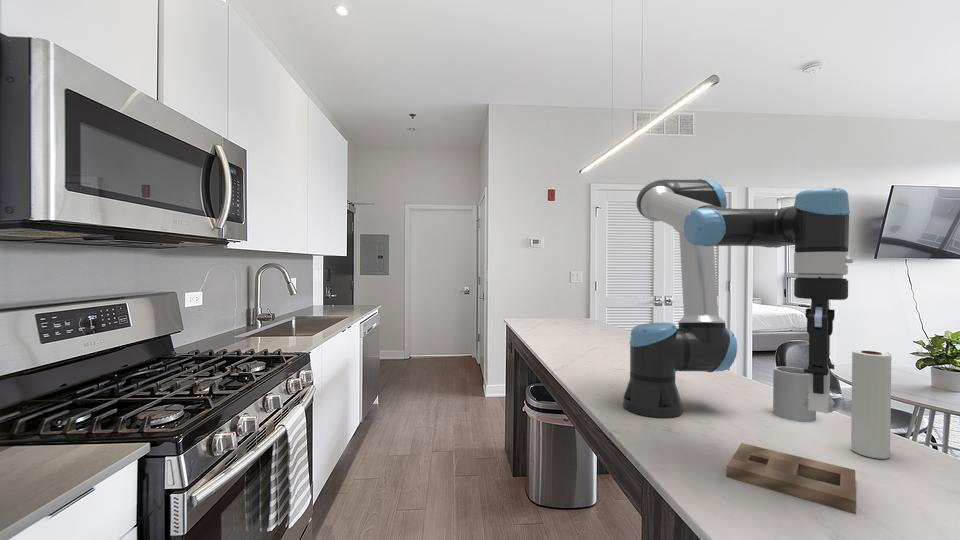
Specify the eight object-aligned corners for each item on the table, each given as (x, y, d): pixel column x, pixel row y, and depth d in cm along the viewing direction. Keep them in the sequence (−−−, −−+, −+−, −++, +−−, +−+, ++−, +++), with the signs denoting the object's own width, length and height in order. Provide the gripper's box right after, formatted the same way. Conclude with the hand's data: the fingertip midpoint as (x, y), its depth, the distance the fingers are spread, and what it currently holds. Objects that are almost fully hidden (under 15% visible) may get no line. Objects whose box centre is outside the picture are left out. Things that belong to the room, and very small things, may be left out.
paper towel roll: (859, 457, 88) (860, 353, 88) (845, 445, 94) (846, 348, 94) (903, 462, 86) (905, 356, 86) (887, 450, 91) (888, 351, 91)
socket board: (726, 476, 79) (726, 465, 79) (741, 452, 90) (741, 442, 90) (855, 513, 68) (856, 500, 68) (855, 480, 78) (855, 469, 78)
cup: (818, 424, 107) (818, 376, 107) (774, 417, 112) (774, 371, 112) (813, 414, 115) (813, 369, 115) (772, 408, 119) (772, 365, 119)
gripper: (848, 277, 67) (846, 426, 67) (848, 276, 80) (847, 401, 80) (789, 276, 72) (787, 415, 72) (798, 276, 85) (797, 393, 85)
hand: (819, 407), depth 76 cm, fingers closed on rook chess piece, 4 cm apart
